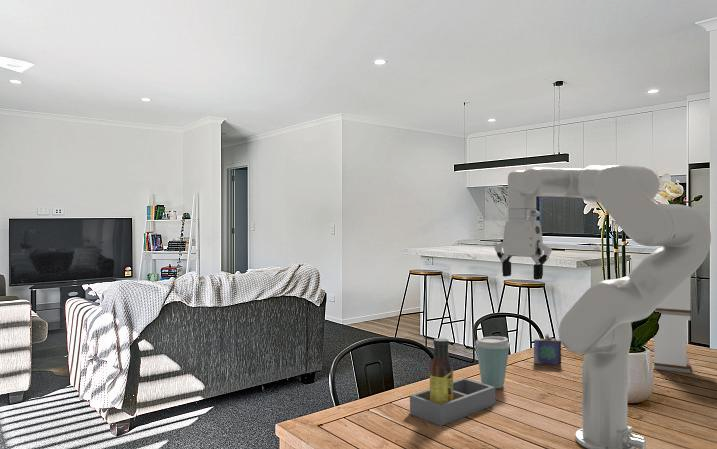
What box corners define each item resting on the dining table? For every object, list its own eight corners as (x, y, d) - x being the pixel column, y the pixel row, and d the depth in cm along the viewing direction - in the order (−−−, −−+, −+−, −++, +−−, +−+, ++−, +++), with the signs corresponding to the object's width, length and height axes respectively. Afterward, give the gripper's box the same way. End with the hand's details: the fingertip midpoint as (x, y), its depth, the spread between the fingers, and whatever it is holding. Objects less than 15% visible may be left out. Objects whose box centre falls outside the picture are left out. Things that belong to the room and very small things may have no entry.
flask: (534, 364, 186) (534, 334, 185) (533, 362, 188) (533, 333, 188) (561, 366, 183) (561, 336, 183) (560, 364, 186) (560, 334, 186)
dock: (495, 404, 147) (495, 387, 146) (440, 426, 132) (440, 406, 132) (464, 394, 155) (464, 377, 155) (409, 413, 140) (409, 395, 140)
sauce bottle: (453, 418, 136) (452, 343, 136) (429, 417, 137) (428, 342, 137) (453, 409, 142) (453, 337, 142) (430, 408, 143) (430, 336, 143)
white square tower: (690, 373, 174) (690, 269, 174) (654, 368, 180) (654, 267, 179) (688, 364, 184) (688, 266, 184) (654, 360, 190) (654, 265, 189)
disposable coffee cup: (475, 389, 159) (474, 341, 159) (475, 378, 170) (475, 333, 170) (511, 392, 157) (510, 342, 157) (509, 381, 167) (509, 334, 167)
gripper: (558, 215, 139) (558, 279, 139) (503, 215, 152) (503, 274, 152) (543, 215, 134) (543, 281, 134) (487, 215, 147) (487, 276, 147)
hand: (522, 277), depth 143 cm, fingers open, 9 cm apart
